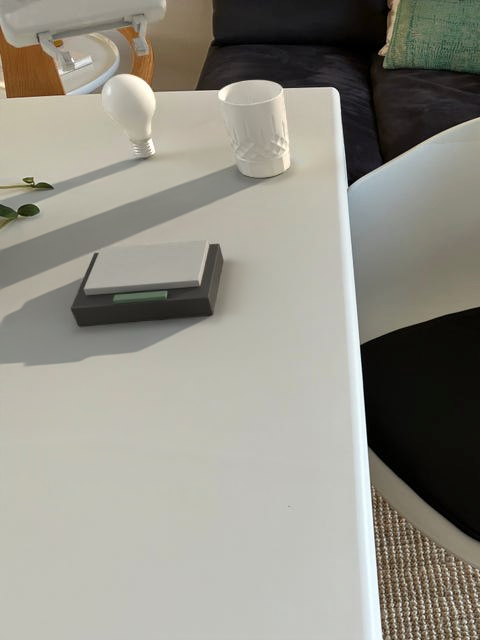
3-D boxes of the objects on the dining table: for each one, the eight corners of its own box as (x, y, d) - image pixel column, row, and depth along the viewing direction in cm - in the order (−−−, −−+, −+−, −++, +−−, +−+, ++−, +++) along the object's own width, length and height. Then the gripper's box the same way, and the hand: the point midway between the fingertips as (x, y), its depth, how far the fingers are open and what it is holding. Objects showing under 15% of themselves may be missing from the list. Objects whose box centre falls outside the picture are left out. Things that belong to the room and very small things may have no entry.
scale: (78, 326, 77) (67, 302, 75) (100, 269, 84) (91, 246, 82) (213, 315, 78) (206, 290, 76) (223, 260, 86) (217, 236, 84)
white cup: (257, 186, 98) (241, 110, 92) (222, 167, 102) (204, 92, 96) (307, 165, 103) (295, 91, 96) (271, 147, 107) (258, 74, 100)
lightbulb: (179, 148, 106) (157, 68, 99) (156, 170, 102) (131, 87, 94) (136, 144, 107) (111, 64, 100) (111, 166, 102) (84, 83, 95)
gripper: (142, -36, 108) (184, 56, 108) (-19, -11, 99) (27, 89, 100) (143, -65, 102) (187, 32, 103) (-28, -41, 94) (21, 65, 94)
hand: (107, 60), depth 101 cm, fingers open, 8 cm apart
